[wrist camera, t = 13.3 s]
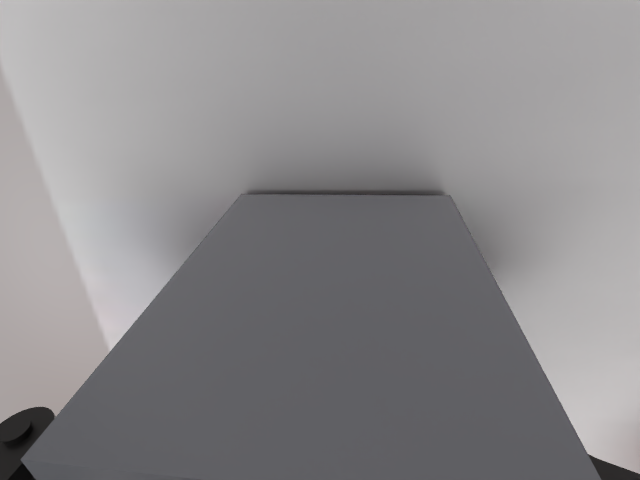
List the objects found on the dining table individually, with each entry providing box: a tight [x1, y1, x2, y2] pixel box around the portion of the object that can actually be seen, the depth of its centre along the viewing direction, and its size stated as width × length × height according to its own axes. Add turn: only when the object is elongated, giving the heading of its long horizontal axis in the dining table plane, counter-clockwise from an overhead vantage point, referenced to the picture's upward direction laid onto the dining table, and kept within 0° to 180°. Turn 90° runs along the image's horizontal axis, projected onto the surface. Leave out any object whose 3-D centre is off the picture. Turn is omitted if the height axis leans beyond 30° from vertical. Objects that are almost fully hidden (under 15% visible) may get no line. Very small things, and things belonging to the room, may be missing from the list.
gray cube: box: [21, 194, 601, 480], centre depth 9 cm, size 7×7×9 cm
